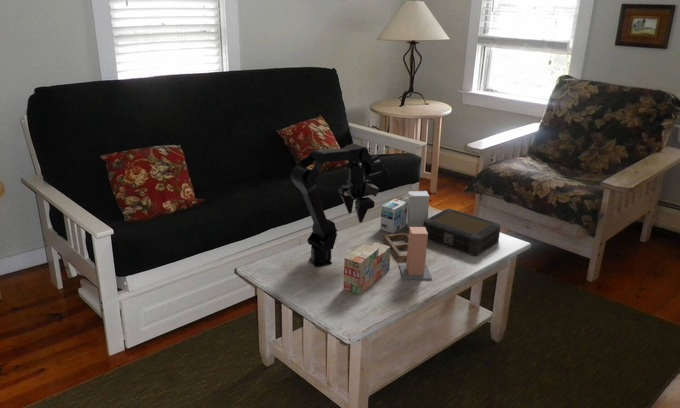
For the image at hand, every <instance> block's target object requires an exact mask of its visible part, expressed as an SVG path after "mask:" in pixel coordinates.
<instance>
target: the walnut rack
mask: <svg viewBox="0 0 680 408" xmlns="http://www.w3.org/2000/svg"><path fill="white" fill-rule="evenodd" d="M408 238H409V233H408V232H400V233H391V234H390V233H389V234H383V238H382V239H383V241H384V242H385V245H386V246H390V252H392V253H393V254H394V256H395V258H396V259H397V260H398V261H399V262H401V261H402V262H403V261H407V253H403V254H402V253H401V252H400V250H408ZM398 240H405V241H406V242H404V243H403V242H402V243H401V242H400V243H394V242H393V241H398Z"/></svg>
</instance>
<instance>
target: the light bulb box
mask: <svg viewBox="0 0 680 408" xmlns="http://www.w3.org/2000/svg"><path fill="white" fill-rule="evenodd" d="M407 208H408V201H404V200H400V199H398V198H393V199H392V200H390V201H388V202H386V203H384V204H382V205H381V208H380V209H381V210H380V211H381V212H380V230H382V231H385V232H388V233H389V234H390V233H391V234H396V233H397V232H398V231H400V230H401V229H403V228H405V227H406V226H407Z"/></svg>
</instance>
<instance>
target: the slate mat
mask: <svg viewBox="0 0 680 408" xmlns="http://www.w3.org/2000/svg"><path fill="white" fill-rule="evenodd" d="M398 268H399V270H400V274H401V277H402V281H432V280H433V278H432V274H431V273H430V270H429V267H428V265H427V264H425V271H424V275H408V272H407V269H406V264H398Z"/></svg>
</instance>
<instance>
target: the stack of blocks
mask: <svg viewBox="0 0 680 408" xmlns="http://www.w3.org/2000/svg"><path fill="white" fill-rule="evenodd" d="M390 262H391V249H390V246H388V245H387V244H383V243H379V242H373V244H371V245H368V244H365V243H362V244H361V245H360V246H359V247H358V248H356V249H355V250H354V251H352V252H351V253H349V254H348V255H346V256H345V257H344V263H343V264H344V266H343V287H342V289H343V290H344V291H347V292H350V293H353V294H356V295H358V296H360V295H361V294H362V293H363V292H365V291H366V290H367V289H369V287H371V286H373V284H374V283H375V282H376V281H377V280H379V279H380V278H381V277H382V276H384V274H386V273H388V271H390V265H391V263H390Z"/></svg>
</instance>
